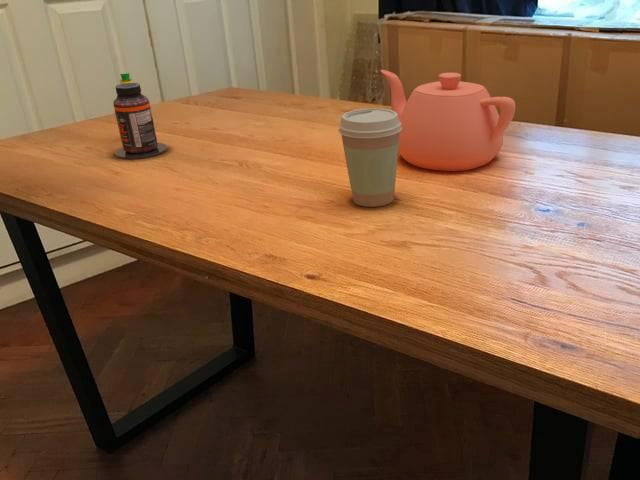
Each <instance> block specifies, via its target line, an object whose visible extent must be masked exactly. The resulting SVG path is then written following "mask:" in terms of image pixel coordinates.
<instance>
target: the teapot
mask: <svg viewBox="0 0 640 480" xmlns="http://www.w3.org/2000/svg"><path fill="white" fill-rule="evenodd" d="M380 72H381V74H382V75H383V76H384V77H385V79H386V80H387V82H388V84H389V88H390V98H391V99H390V108H391V109H390V110H392V111H395V112H396V113H397V115H398V118H399V121H400V122H401V127H402V130H401V131H400V134H399V146H398V154H400V156H401V157H402V159H403V160H405V162H407V163H408V164H410V165H412V166H415V167H418V168H422V169H426V170H432V171H441V172H443V171H444V172H462V171H470V170H474V169H478V168H480V167H483V166H485V165H487V164H488V163H490V162H491V161H492V160H493V159H494V158H495V157H496V155H498V153H499V152H500V150H501V149H502V147H503V144H504V133H505V132H506V130H507V129H508V127H509V126H510V124H511V122H512V121H513V118H514V116H515V113H516V107H517V106H516V102H515V100H514V99H512V97H509V96H491V95H490V92H489V91H488V89H487V88H486V86H484V85H482V84H479V83H475V82H468V81H461V78H462V74H461V73H459V72H452V71H451V72H449V71H448V72H442V73H440V74H438V80H439V81H432V82H428V83H427V82H426V83H424V84H420V85H418V86H416V87H415V88H414V89H413V90H412V92H411V93H410V95H409V98H408V99H406V95H405V90H404V87H403V82H402V81H401V80H400V78H399V76H398V75H397V74H395V72H391V71H389V70H386V69H380ZM497 107H498V108H499V110H500V112H498V108H497Z"/></svg>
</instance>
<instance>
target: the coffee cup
mask: <svg viewBox="0 0 640 480" xmlns="http://www.w3.org/2000/svg"><path fill="white" fill-rule="evenodd" d="M338 128H339V129H338V133H339V134H340V136H341V141H342V147H343V151H344V157H345V163H346V167H347V168H346V169H347V174H348V180H349V186H350V190H351V191H350V192H351V197H352V201H353V203H354V204H356V205H357V206H360V207H367V208H377V207H383V206H386V205H389V204H391V203H392V202H394V199H395V191H396V181H397V180H396V179H397V170H398V169H397V168H398V157H399V151H398V146H399V134H400V131H401V130H402V127H401V122H400V121H399V118H398V115H397V113H396V112H395V111H392V110H391V109H387V108H377V107H376V108H374V107H373V108H371V107H370V108H359V109H353V110H350V111H347V112H345V113H343V114H342V115H341V119H340V123H339V125H338Z"/></svg>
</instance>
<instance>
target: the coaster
mask: <svg viewBox="0 0 640 480" xmlns="http://www.w3.org/2000/svg"><path fill="white" fill-rule="evenodd" d="M157 143H158V146H157V148H156V149H154V150H152V151H149V152H146V153H128V152H126V151H125V150H124V148H123V146H122V147H120V148H118V149H116V150H115V151H114V155H115V156H114V157H116V158H117V159H121V160H142V159H149V158H154V157H158V156H161V155H162V154H164V153H167V151H168V150H169V149H168V145H166V144H165V143H162V142H157Z"/></svg>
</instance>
